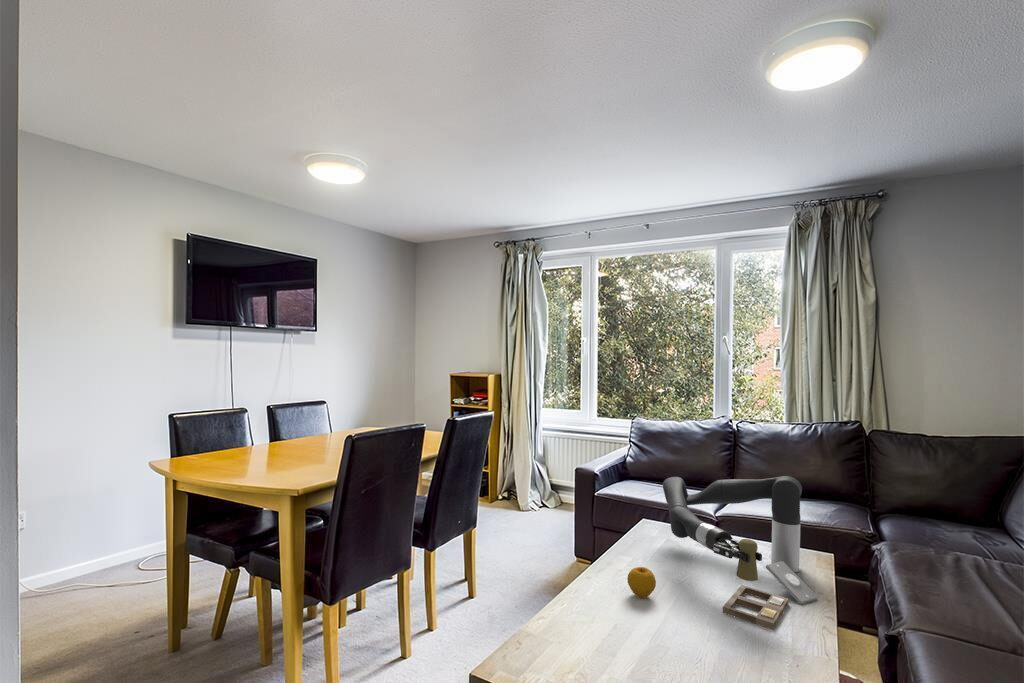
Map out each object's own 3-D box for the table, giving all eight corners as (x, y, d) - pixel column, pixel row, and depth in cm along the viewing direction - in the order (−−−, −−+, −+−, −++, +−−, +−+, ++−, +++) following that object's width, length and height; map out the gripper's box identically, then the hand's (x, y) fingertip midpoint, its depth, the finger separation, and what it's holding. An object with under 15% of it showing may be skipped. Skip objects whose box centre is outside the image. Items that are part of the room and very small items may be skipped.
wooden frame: (741, 590, 171) (741, 583, 171) (788, 604, 163) (788, 597, 163) (722, 612, 156) (722, 605, 156) (773, 629, 147) (773, 621, 147)
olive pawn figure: (732, 572, 159) (733, 536, 159) (751, 572, 160) (752, 536, 160) (742, 581, 153) (744, 544, 153) (762, 581, 154) (763, 544, 154)
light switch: (803, 600, 162) (767, 562, 174) (794, 613, 164) (759, 574, 176) (820, 595, 166) (784, 559, 177) (811, 607, 168) (776, 570, 180)
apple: (633, 587, 171) (634, 559, 171) (659, 595, 166) (660, 567, 166) (622, 596, 164) (623, 568, 164) (649, 605, 159) (650, 576, 159)
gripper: (730, 547, 172) (772, 568, 156) (695, 551, 167) (736, 574, 151) (730, 524, 173) (773, 543, 157) (696, 528, 167) (736, 548, 151)
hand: (754, 558), depth 154 cm, fingers closed on olive pawn figure, 4 cm apart
